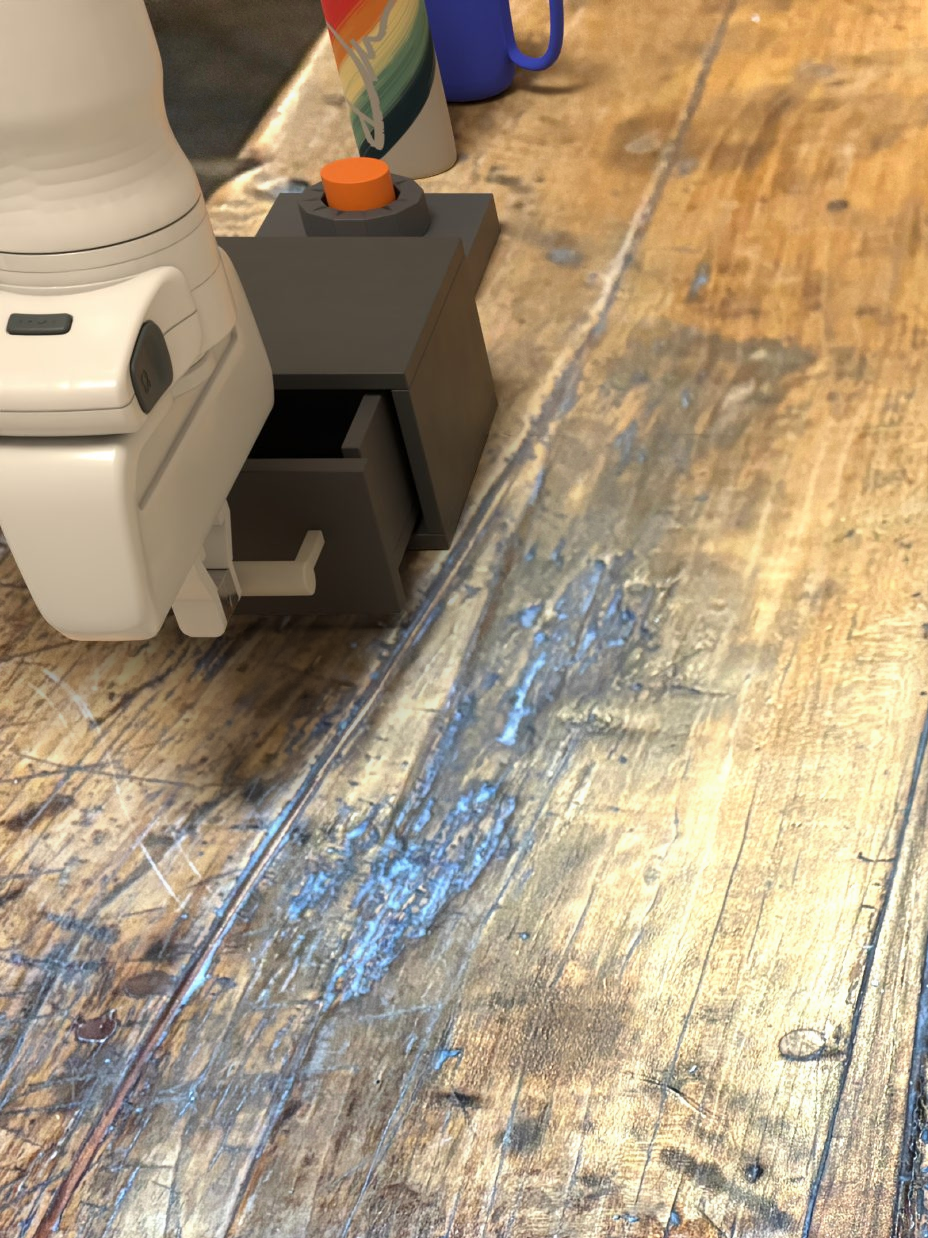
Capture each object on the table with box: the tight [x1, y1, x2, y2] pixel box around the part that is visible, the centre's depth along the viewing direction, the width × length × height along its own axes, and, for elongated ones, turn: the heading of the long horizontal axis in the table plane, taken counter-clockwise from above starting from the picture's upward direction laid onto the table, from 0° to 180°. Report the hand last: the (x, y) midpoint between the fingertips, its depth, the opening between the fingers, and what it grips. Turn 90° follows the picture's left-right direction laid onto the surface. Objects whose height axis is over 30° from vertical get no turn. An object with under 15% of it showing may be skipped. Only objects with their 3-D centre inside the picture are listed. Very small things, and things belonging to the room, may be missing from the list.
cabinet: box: [215, 236, 499, 550], centre depth 106 cm, size 15×13×9 cm
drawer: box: [166, 389, 421, 617], centre depth 99 cm, size 18×11×7 cm, turn 4°
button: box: [319, 156, 396, 211], centre depth 122 cm, size 4×4×2 cm
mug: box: [424, 0, 565, 103], centre depth 140 cm, size 8×12×10 cm
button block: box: [254, 173, 502, 297], centre depth 124 cm, size 12×10×4 cm
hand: (214, 618), depth 92 cm, fingers closed
